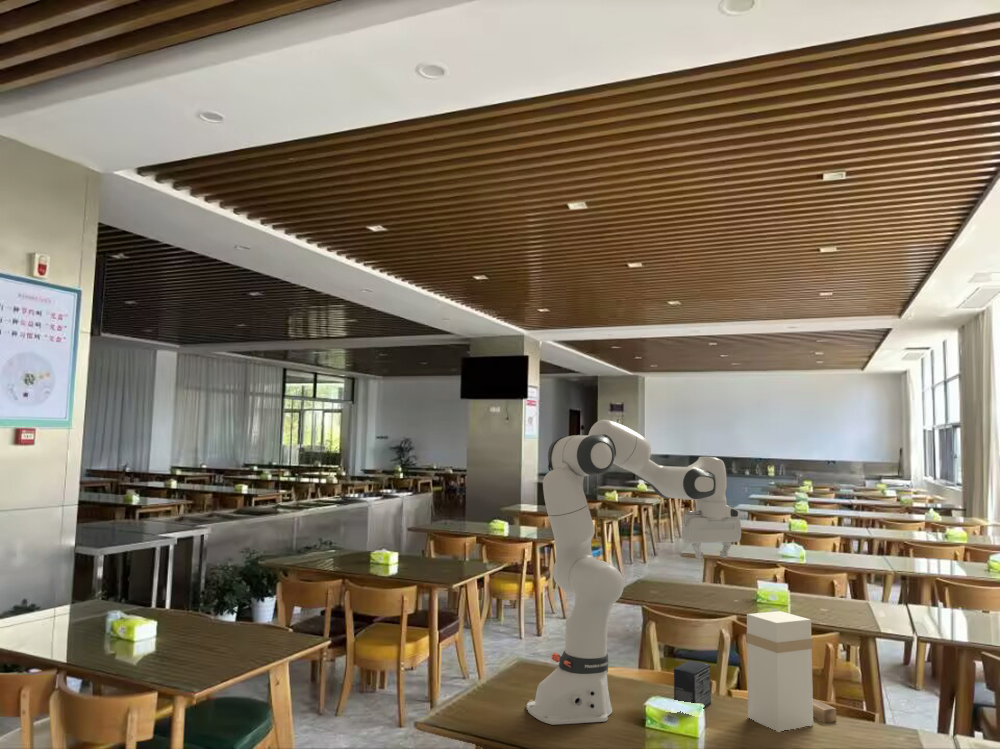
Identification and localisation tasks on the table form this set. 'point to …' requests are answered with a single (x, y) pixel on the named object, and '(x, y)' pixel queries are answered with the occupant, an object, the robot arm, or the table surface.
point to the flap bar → (823, 711)
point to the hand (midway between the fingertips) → (711, 557)
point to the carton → (779, 670)
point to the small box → (692, 683)
